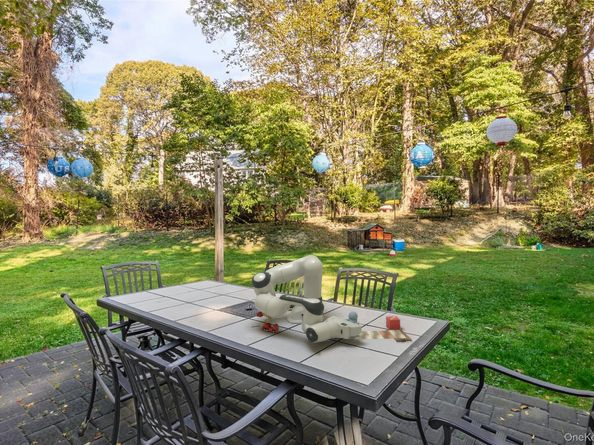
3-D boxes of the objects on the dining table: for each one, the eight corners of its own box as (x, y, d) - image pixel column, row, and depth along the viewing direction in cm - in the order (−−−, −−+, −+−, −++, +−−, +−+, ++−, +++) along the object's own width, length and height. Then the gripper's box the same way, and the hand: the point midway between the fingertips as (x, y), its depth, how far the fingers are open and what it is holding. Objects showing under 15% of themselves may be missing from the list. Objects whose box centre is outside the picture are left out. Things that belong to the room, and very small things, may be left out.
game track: (346, 343, 169) (346, 341, 169) (340, 333, 183) (340, 330, 183) (411, 341, 171) (411, 339, 171) (401, 331, 185) (401, 329, 185)
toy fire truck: (276, 333, 182) (276, 316, 182) (256, 329, 189) (256, 312, 189) (279, 331, 185) (279, 314, 185) (260, 327, 192) (259, 310, 192)
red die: (389, 330, 187) (389, 319, 186) (386, 326, 193) (386, 316, 192) (400, 330, 187) (400, 319, 187) (396, 326, 193) (396, 315, 193)
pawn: (348, 337, 173) (348, 313, 173) (346, 333, 179) (346, 310, 178) (359, 337, 174) (359, 313, 173) (356, 333, 179) (356, 309, 179)
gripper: (321, 327, 177) (340, 322, 185) (349, 340, 160) (368, 333, 169) (321, 316, 176) (340, 311, 185) (349, 327, 160) (368, 321, 168)
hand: (354, 321), depth 176 cm, fingers closed on pawn, 4 cm apart
